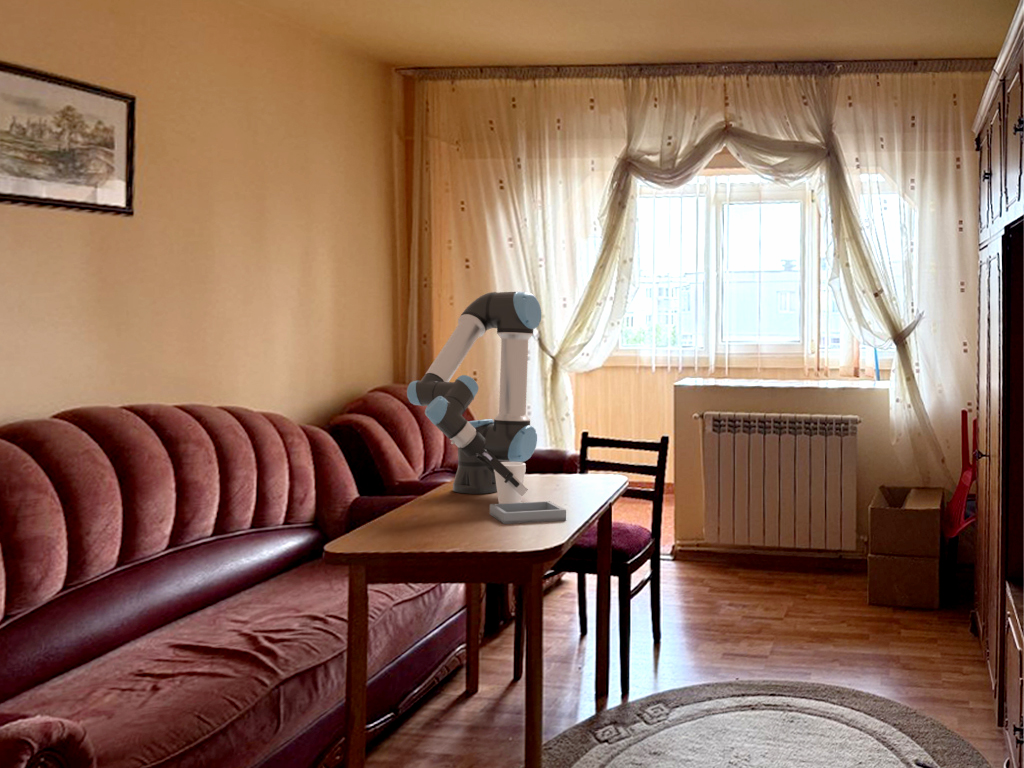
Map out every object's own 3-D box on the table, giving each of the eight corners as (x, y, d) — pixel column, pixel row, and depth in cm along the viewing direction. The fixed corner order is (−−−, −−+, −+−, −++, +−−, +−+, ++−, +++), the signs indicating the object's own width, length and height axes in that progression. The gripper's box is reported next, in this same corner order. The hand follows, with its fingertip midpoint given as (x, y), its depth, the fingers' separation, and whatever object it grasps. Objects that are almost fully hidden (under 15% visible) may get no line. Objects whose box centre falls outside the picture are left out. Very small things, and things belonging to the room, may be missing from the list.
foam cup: (521, 510, 335) (521, 466, 334) (491, 509, 337) (491, 465, 336) (528, 504, 344) (527, 462, 343) (498, 503, 346) (497, 461, 345)
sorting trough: (489, 514, 328) (489, 504, 328) (549, 511, 333) (549, 501, 333) (504, 524, 313) (504, 513, 313) (566, 520, 318) (566, 509, 318)
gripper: (451, 444, 346) (501, 493, 351) (468, 453, 324) (521, 505, 330) (467, 426, 347) (517, 475, 352) (486, 434, 326) (539, 486, 331)
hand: (519, 490), depth 341 cm, fingers closed on foam cup, 9 cm apart
